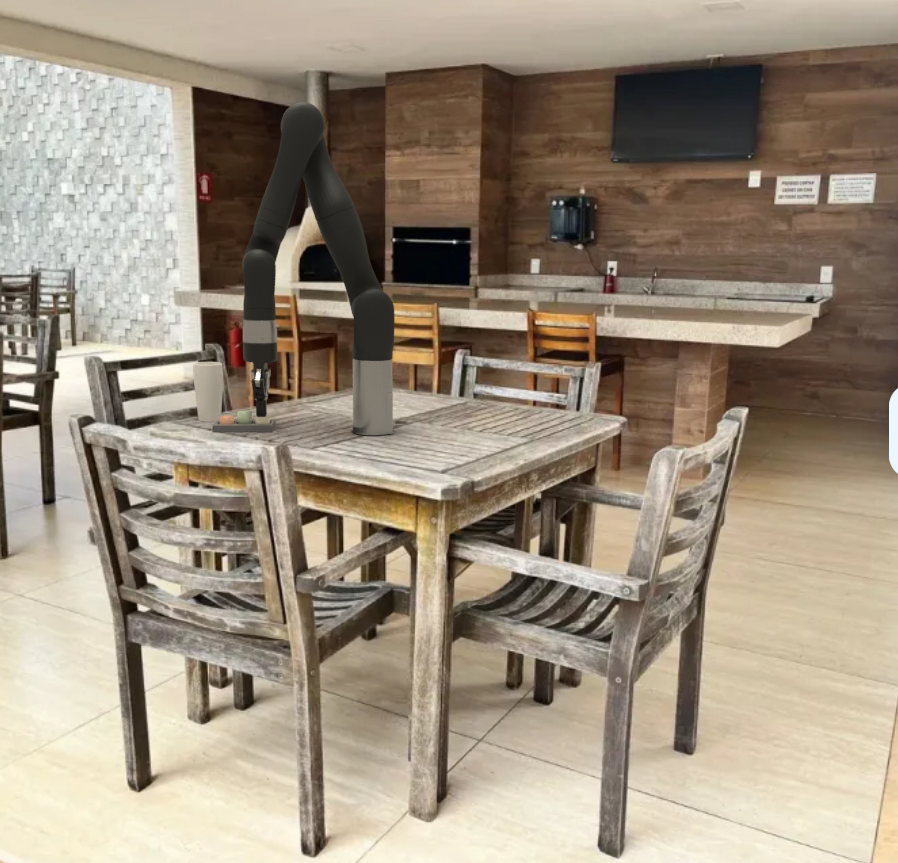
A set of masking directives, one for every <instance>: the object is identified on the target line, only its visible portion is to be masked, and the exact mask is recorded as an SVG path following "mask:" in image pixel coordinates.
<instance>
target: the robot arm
mask: <svg viewBox="0 0 898 863" xmlns="http://www.w3.org/2000/svg"><path fill="white" fill-rule="evenodd" d="M323 116H324V115H323V114H322V112H321V110H320V109H319V108H318V107H316V106H315V105H314V104H312V103H309V102H308V101H307V102H306V101H299V102H296V103H293V104H292V105H290V106H289V107H288V108H286V110H285V112H284V113H283V116H282V117H281V121H280V132H281V138H280V144H279V150H278V153H277V157H276V162H275V165H274V167H273V170H272V173H271V176H270V179H269V181H268V184H267V187H266V189H265V192H264V193H263V196H262V199H261V203H260V206H259V208H258V212H257V215H256V219H255V222H254V226H253V231H252V235H251V237H250V239H249V241H248V242H249V243H248V244H247V247H246V250H245V252H244V256H243V258H242V261H241V268H242V272H243V287H244V288H243V289H244V297H243V305H242V306H243V307H242V308H243V309H242V310H243V325H242V353H243V354H242V355H243V356H242V357H243V361H244V362H246V363H253V368H252V370H250V377H251V380H250V382H251V387H252V393H253V394H252V395H253V399H254V400H255V413H256V415H255V416H257V417H265V416H266V415H267V414H268V412H267V411H268V408H267V407H268V406H267V404H268V402H267V400H268V398H269V389H270V377H271V368H268V367H269V366H268V363H274V362H277V361H278V328H277V320H276V319H277V315H276V313H277V312H276V310H277V309H276V299H275V293H276V279H277V278H276V273H277V272H276V271H277V269H276V268H277V267H276V266H277V265H276V261H277V258H278V254H279V251H280V248H281V245H282V242H283V241H284V239H285V237H286V234H287V232H288V228H289V225H290V223H291V219H292V216H293V212H294V208H295V206H296V201H297V198H298V193H299V191H300V190H299V189H300V187H301V183H302V179H303V182H304V186H305V190H306V194H307V197H308V199H309V200H308V201H309V204H310V206H311V207H310V208H311V210H312V212H313V216H314V220H315V221H316V224H317V226H318V229H319V232H320V234H321V237H322V239H323V241H324V244H325V245H326V248H327V250H328V253H329V254H330V256H331V257H332V260H333V262H334V264H335V265H336V268H337V269H338V271H339V273H340V276H341V279H342V281H343V285H344V288H345V291H346V294H347V298H348V303H349V306H350V311H351V314H352V317H353V341H352V342H353V344H352V432H353V433H354V434H357V435H363V436H381V435H382V436H383V435H393V432H394V431H393V430H394V429H393V428H394V427H393V426H394V424H393V423H394V422H393V421H394V418H393V414H394V413H393V410H394V407H393V406H394V405H393V404H394V400H393V398H394V396H393V395H394V394H393V356H394V353H393V352H394V348H395V306H394V305H395V304H394V302H393V299H392V298H391V297H390V296H389V295H388V294H387V293H386V292H385V291H384V290H383V288H382V286H381V285H380V282H379V280H378V278H377V276H376V274H375V271H374V270H373V267H372V263H371V259H370V256H369V252H368V245H367V242H366V235H365V233H364V229H363V225H362V223H361V219H360V217H359V214H358V212H357V209H356V207H355V203H354V202H353V200H352V197H351V195H350V193H349V192H348V189H347V188H346V186H345V183H343V181H342V179H341V177H340V176H339V174H338V172H337V170H336V169H335V167H334V165H333V162H332V160H331V156H330V154H329V153H330V152H329V149H328V147H327V143H326V140H325V135H324V134H325V128H326V126H325V125H326V124H325V119H324V117H323Z"/></svg>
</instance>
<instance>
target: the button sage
mask: <svg viewBox="0 0 898 863" xmlns="http://www.w3.org/2000/svg"><path fill="white" fill-rule="evenodd" d="M236 414H237V415H236V416H237V423H238V424H252V419H253V416H252V415H253V414H252V410H250V409H249V410H247V409H246V410H245V409H244V410H237V413H236Z"/></svg>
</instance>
